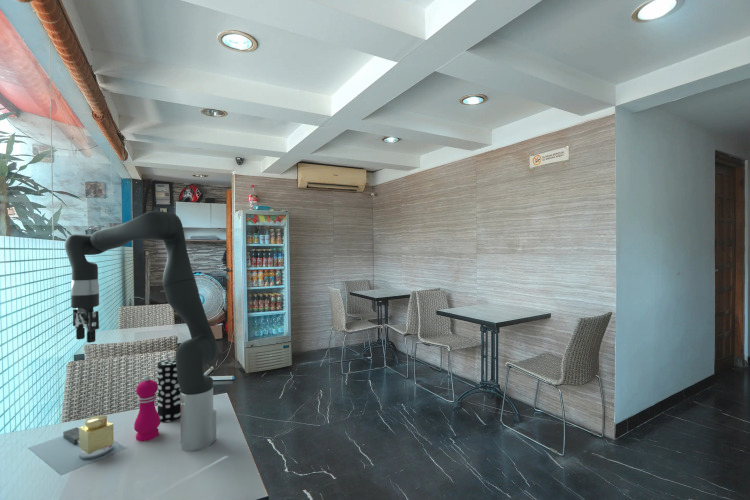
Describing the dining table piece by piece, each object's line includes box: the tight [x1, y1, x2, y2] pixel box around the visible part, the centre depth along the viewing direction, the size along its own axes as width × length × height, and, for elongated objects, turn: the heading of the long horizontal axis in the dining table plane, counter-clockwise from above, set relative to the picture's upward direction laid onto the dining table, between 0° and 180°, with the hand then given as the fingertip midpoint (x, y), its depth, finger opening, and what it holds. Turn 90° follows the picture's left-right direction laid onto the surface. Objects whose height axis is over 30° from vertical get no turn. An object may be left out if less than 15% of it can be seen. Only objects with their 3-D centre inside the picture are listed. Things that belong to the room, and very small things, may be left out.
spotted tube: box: [156, 358, 181, 423], centre depth 134 cm, size 8×8×20 cm
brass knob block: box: [78, 414, 115, 454], centre depth 110 cm, size 6×6×8 cm
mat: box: [28, 435, 127, 476], centre depth 113 cm, size 16×26×1 cm, turn 58°
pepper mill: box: [133, 375, 161, 442], centre depth 119 cm, size 7×7×20 cm
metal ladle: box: [62, 427, 113, 460], centre depth 114 cm, size 8×24×6 cm, turn 58°
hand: (85, 340), depth 125 cm, fingers open, 8 cm apart
